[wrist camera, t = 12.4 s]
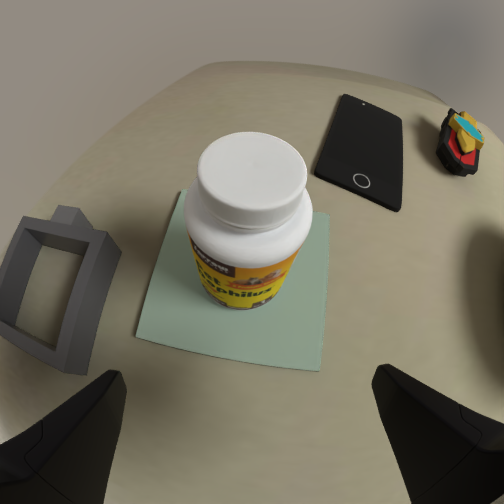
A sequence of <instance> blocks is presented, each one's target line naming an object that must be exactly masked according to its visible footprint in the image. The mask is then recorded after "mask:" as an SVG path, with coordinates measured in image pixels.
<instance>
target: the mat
mask: <svg viewBox="0 0 504 504" xmlns="http://www.w3.org/2000/svg"><path fill="white" fill-rule="evenodd" d="M187 191H188V190H186V189H182V192H181V194H180V197H179V199H178V202H177V205H176V207H175V210H174V213H173V215H172V218H171V221H170V224H169V226H168V229H167V232H166V235H165V238H164V241H163V244H162V247H161V250H160V253H159V256H158V259H157V262H156V265H155V268H154V272H153V275H152V278H151V281H150V285H149V288H148V292H147V295H146V299H145V302H144V306H143V309H142V313H141V317H140V321H139V325H138V329H137V333H136V337H137V338H140V339H144V340H147V341H151V342H154V343H158V344H162V345H166V346H170V347H174V348H178V349H182V350H186V351H191V352H195V353H200V354H204V355H209V356H214V357H219V358H224V359H230V360H235V361H241V362H247V363H253V364H260V365H266V366H274V367H281V368H290V369H299V370H308V371H320V363H321V355H322V346H323V336H324V325H325V313H326V299H327V283H328V262H329V217H330V214H325V213H320V212H315V211H312V223H311V227H310V230H309V233H308V235H307V237H306V239H305V241H304V243H303V245H302V247H301V249H300V251H299V253H298V255H297V257H296V259H295V261H294V263H293V265H292V267H291V269H290V270H289V272H288V274H287V276H286V278H285V280H284V282H283V284H282V286H281V288H280V289H279V291H278V293H277V294H276V295H275V296H274V297H273V298H272V299H271V300H270V301H269V302H268V303H266V304H265V305H263V306H261V307H258V308H255V309H252V310H245V311H240V310H233V309H229V308H226V307H224V306H221V305H220V304H218V303H217V302H215V301H214V300H213V299H212V298H211V297H210V296H209V295H208V294H207V292H206V291H205V289H204V287H203V285H202V283H201V280H200V276H199V273H198V269H197V266H196V262H195V259H194V255H193V252H192V248H191V244H190V240H189V236H188V232H187V228H186V224H185V219H184V201H185V197H186V194H187Z"/></svg>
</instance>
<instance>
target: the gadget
mask: <svg viewBox="0 0 504 504" xmlns="http://www.w3.org/2000/svg"><path fill="white" fill-rule="evenodd" d="M483 144H484V137H483V135H482V134H481V132H480V131H479V130H478V129H477V122H476V120H475V119H473V118H472V117H471V116H470V115H469V114H467V113H466V112H465V111H464V112H460V113H459V114H458V113H457V112H456V111H455V110H453V109H452V108H450V109H449V111H448V115H447V117H446V118H445V119H444V121H443V123H442V125H441V131H440V141H439V144H438V147H437V151H436V153H437V155H438V156H439V158H440V160H441V162H442V163H443V165H444V167H445V168H446V169H447V170H449V171H450V172H451V173H452V174H453V175H457V176H465V177H466V175H467V174H471V175H474V174H475V173H476V172H477V170H478V162H479V153H480V149H481V148H482V146H483Z"/></svg>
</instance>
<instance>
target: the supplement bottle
mask: <svg viewBox="0 0 504 504" xmlns="http://www.w3.org/2000/svg"><path fill="white" fill-rule="evenodd" d="M306 181H307V169H306V165H305V162H304V160H303V158H302V157H301V155H300V154H299V153H298V151H297V150H296V149H294V148H293V147H292V146H291V145H290V144H288V143H287V142H285V141H283V140H282V139H279V138H277V137H275V136H272V135H269V134H265V133H259V132H239V133H233V134H230V135H226V136H224V137H221V138H219V139H217V140H216V141H214V142H213V143H211V144H210V145H209V146H208V147H207V148H206V149H205V150H204V151H203V153H202V154H201V156H200V158H199V161H198V165H197V177H196V178H195V179H194V181H193V182H192V184H191V185H190V187H189V189H188V191H187V194H186V197H185V201H184V219H185V224H186V228H187V232H188V236H189V240H190V244H191V248H192V252H193V255H194V259H195V262H196V266H197V269H198V273H199V276H200V280H201V283H202V285H203V287H204V289H205V291H206V292H207V294H208V295H209V296H210V297H211V298H212V299H213V300H214V301H215V302H217V303H218V304H220V305H221V306H224V307H226V308H229V309H233V310H240V311H245V310H252V309H255V308H258V307H261V306H263V305H265V304H266V303H268V302H269V301H270V300H271V299H272V298H273V297H274V296H275V295H276V294H277V293H278V291H279V289H280V288H281V286H282V284H283V282H284V280H285V278H286V276H287V274H288V272H289V270H290V269H291V267H292V265H293V263H294V261H295V259H296V257H297V255H298V253H299V251H300V249H301V247H302V245H303V243H304V241H305V239H306V237H307V235H308V233H309V230H310V227H311V223H312V204H311V200H310V197H309V194H308V192H307V190H306V188H305V185H306Z"/></svg>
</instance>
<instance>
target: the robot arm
mask: <svg viewBox="0 0 504 504" xmlns="http://www.w3.org/2000/svg"><path fill="white" fill-rule="evenodd" d="M372 389H373V393H374V396H375V400H376V403H377V407H378V411H379V414H380V418H381V421H382V423H383V426H384V428H385V431H386V434H387V436H388V439H389V441H390V444H391V447H392V449H393V452H394V455H395V457H396V460H397V463H398V465H399V468H400V471H401V474H402V477H403V480H404V483H405V486H406V488H407V491H408V494H409V498H410V501H411V502H412V503H411V504H504V423H501V422H498V421H496V420H493V419H491V418H488V417H486V416H484V415H481V414H479V413H477V412H475V411H473V410H471V409H469V408H467V407H465V406H463V405H461V404H458V402H456V401H454V400H452V399H450V398H448V397H447V396H445V395H443V394H441V393H439V392H438V391H436V390H434V389H432V388H431V387H429V386H427V385H425V384H423V383H422V382H420V381H418V380H416V379H415V378H413V377H411V376H409V375H408V374H406V373H404V372H402V371H401V370H399V369H397V368H396V367H394V366H392V365H390V364H383V365H379V366H378V367H377V369H376V372H375V374H374V377H373V379H372ZM126 393H127V389H126V385H125V382H124V379H123V377H122V374H121V372H120V371H117V370H108V371H106V372H105V373H103V374H102V375H101V376H99V377H98V378H97V379H95V380H94V381H93V382H91V383H90V384H89V385H87V386H86V387H85V388H83V389H82V390H81V391H79V392H78V393H76V394H75V395H74V396H72V397H71V398H70V399H68V400H67V401H66V402H64V403H63V404H62V405H60V406H59V407H57V408H56V409H55V410H53V411H52V412H51V413H49V414H48V415H47V416H45V417H44V418H43V419H42V420H40V421H38V422H37V423H35V424H34V425H33V426H31V427H30V428H28V429H27V430H25V431H24V432H22V433H20V434H19V435H17V436H15V437H13V438H12V439H10V440H8V441H6V442H4V443H2V444H1V445H0V504H103V503H104V498H105V493H106V488H107V483H108V478H109V474H110V470H111V465H112V461H113V457H114V453H115V449H116V445H117V441H118V438H119V434H120V430H121V424H122V418H123V411H124V405H125V399H126Z"/></svg>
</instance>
